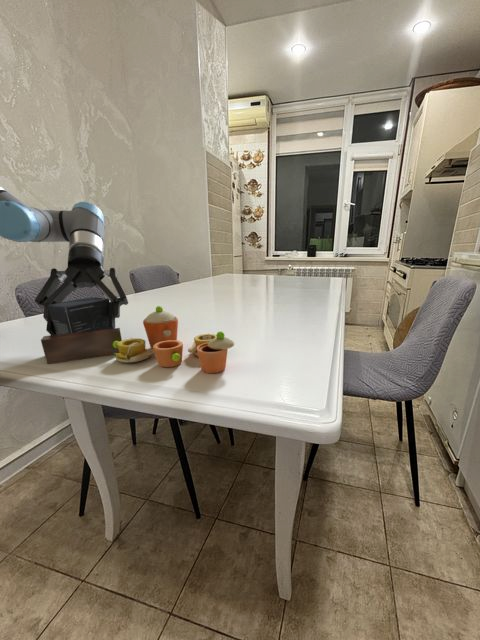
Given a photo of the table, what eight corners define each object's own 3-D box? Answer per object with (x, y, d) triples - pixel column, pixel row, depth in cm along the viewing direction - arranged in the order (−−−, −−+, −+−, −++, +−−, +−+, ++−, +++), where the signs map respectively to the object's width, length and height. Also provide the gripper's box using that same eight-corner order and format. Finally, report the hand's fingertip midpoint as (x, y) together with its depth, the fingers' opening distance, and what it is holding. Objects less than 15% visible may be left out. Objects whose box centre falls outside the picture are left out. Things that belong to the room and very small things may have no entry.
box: (100, 337, 74) (92, 296, 70) (118, 341, 71) (111, 298, 68) (57, 350, 65) (45, 303, 61) (76, 354, 62) (65, 307, 59)
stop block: (47, 364, 58) (40, 340, 56) (49, 358, 60) (43, 336, 59) (124, 353, 64) (120, 331, 62) (123, 348, 66) (119, 327, 65)
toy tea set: (103, 363, 58) (94, 316, 55) (152, 340, 72) (147, 301, 69) (221, 380, 51) (219, 327, 48) (251, 351, 65) (250, 308, 62)
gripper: (139, 264, 79) (142, 334, 71) (38, 266, 73) (28, 343, 64) (134, 244, 73) (136, 318, 64) (23, 243, 66) (9, 326, 58)
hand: (82, 331), depth 64 cm, fingers closed on box, 11 cm apart
